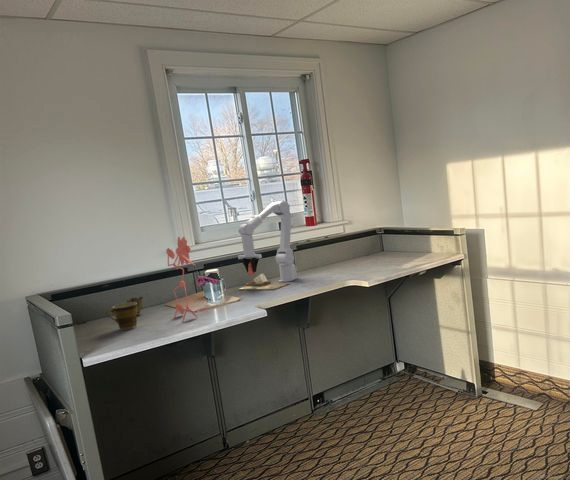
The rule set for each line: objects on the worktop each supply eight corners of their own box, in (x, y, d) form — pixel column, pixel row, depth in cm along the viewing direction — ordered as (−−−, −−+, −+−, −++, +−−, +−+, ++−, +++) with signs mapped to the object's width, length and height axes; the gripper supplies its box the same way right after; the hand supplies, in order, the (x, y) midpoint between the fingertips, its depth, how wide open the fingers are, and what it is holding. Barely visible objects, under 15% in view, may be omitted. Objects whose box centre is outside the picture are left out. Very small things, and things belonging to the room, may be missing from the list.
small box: (209, 294, 269) (206, 269, 268) (221, 292, 269) (218, 268, 268) (207, 297, 261) (204, 272, 260) (219, 295, 261) (216, 270, 260)
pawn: (251, 274, 270) (249, 262, 270) (256, 274, 268) (254, 261, 268) (247, 275, 268) (245, 263, 267) (252, 275, 266) (250, 263, 265)
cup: (126, 317, 234) (123, 300, 233) (133, 313, 241) (130, 297, 241) (141, 316, 233) (138, 299, 232) (147, 312, 240) (145, 296, 239)
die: (257, 277, 278) (263, 273, 276) (261, 284, 277) (267, 280, 275) (253, 278, 273) (259, 274, 271) (257, 286, 273) (263, 282, 271)
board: (254, 284, 282) (254, 280, 282) (289, 284, 269) (288, 280, 269) (239, 290, 271) (238, 286, 271) (274, 290, 258) (273, 286, 258)
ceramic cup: (137, 323, 219) (134, 300, 218) (142, 327, 210) (139, 304, 209) (106, 330, 213) (102, 307, 212) (110, 335, 204) (106, 310, 203)
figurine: (189, 324, 206) (179, 238, 203) (164, 316, 227) (155, 238, 224) (222, 316, 215) (213, 233, 212) (195, 309, 236) (187, 234, 233)
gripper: (232, 248, 268) (236, 273, 269) (254, 247, 259) (257, 273, 261) (241, 246, 273) (244, 271, 275) (262, 245, 265) (266, 270, 266)
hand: (251, 272), depth 268 cm, fingers closed on pawn, 3 cm apart
